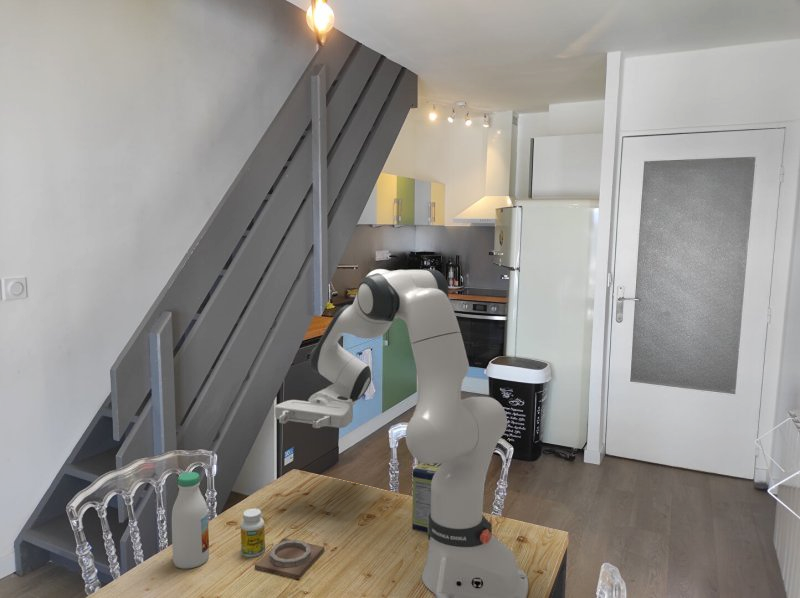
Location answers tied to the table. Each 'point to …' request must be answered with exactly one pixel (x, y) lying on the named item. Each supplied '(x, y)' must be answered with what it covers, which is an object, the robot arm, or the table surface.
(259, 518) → the supplement bottle
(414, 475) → the protein box
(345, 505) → the table surface
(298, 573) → the collar board
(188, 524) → the milk bottle
